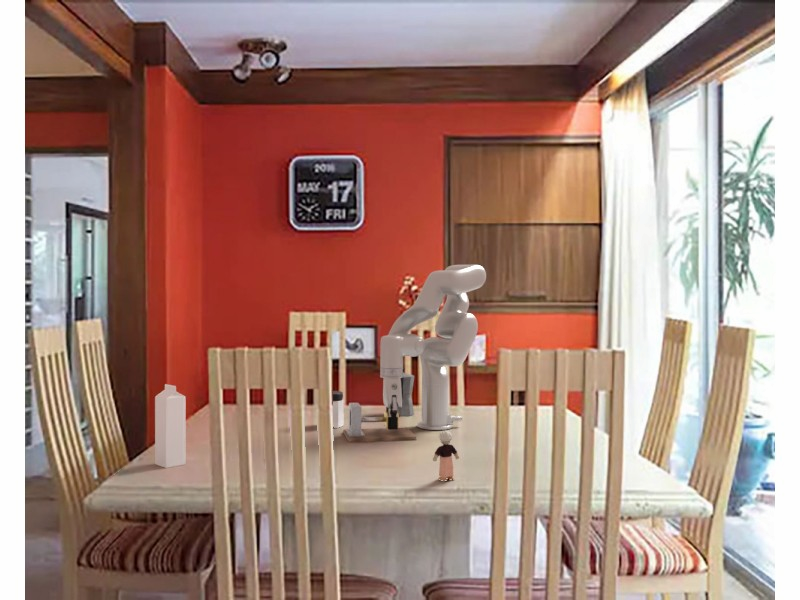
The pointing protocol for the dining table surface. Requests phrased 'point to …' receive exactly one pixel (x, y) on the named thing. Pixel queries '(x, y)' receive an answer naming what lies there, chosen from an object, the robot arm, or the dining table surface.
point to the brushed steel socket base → (354, 421)
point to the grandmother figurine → (445, 456)
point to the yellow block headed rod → (379, 419)
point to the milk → (170, 428)
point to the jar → (338, 409)
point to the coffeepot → (406, 395)
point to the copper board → (382, 435)
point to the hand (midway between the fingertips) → (391, 427)
